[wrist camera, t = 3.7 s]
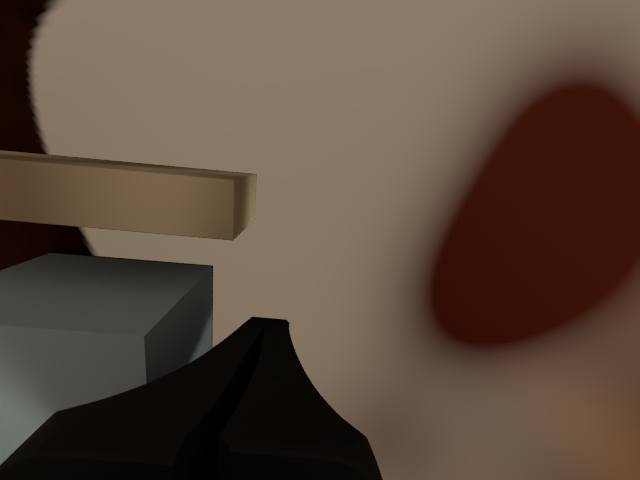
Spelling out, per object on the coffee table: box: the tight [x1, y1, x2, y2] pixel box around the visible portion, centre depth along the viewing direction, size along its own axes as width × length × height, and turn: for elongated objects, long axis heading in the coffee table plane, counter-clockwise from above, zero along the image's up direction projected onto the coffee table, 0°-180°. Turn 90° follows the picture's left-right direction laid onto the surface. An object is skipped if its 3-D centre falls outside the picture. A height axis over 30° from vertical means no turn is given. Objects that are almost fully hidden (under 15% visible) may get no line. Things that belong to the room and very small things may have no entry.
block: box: [0, 253, 213, 465], centre depth 10 cm, size 6×4×5 cm
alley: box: [0, 150, 257, 240], centre depth 11 cm, size 11×12×3 cm
